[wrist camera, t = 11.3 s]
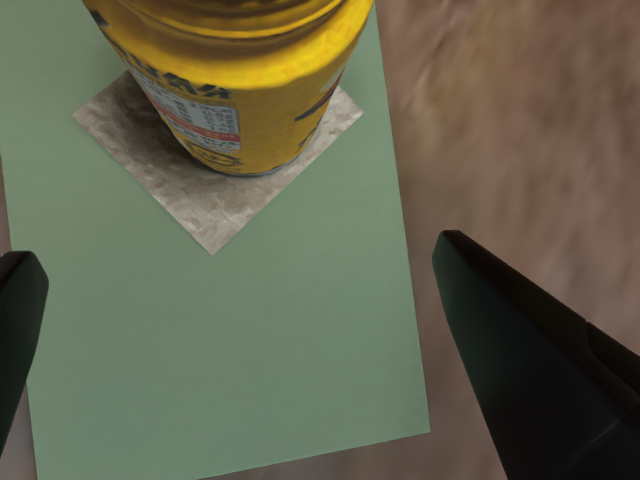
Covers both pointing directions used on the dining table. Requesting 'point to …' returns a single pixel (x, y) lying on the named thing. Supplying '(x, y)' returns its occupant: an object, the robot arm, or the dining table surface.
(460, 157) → the dining table surface
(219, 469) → the mat
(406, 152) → the dining table surface
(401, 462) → the dining table surface
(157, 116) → the condiment
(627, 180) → the dining table surface
